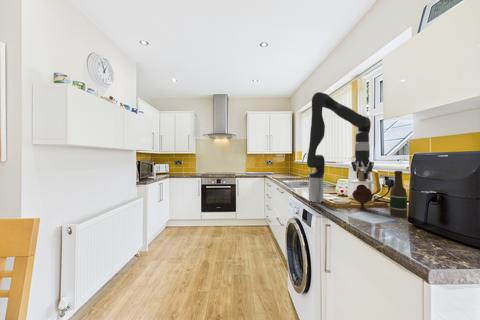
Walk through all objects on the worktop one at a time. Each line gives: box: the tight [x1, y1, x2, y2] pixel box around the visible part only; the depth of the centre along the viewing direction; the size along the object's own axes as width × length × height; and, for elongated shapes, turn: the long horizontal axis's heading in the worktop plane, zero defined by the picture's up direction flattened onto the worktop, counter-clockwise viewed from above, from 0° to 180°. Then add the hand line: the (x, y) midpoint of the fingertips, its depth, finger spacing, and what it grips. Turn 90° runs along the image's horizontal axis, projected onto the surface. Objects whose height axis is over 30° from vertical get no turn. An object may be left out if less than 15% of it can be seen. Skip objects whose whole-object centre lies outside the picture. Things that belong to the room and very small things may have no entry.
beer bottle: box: [389, 170, 408, 219], centre depth 115 cm, size 8×8×24 cm
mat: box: [342, 211, 396, 225], centre depth 112 cm, size 18×16×1 cm
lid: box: [348, 170, 377, 185], centre depth 130 cm, size 14×14×7 cm
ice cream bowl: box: [352, 183, 374, 211], centre depth 130 cm, size 11×11×15 cm
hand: (362, 178), depth 130 cm, fingers closed on lid, 4 cm apart
